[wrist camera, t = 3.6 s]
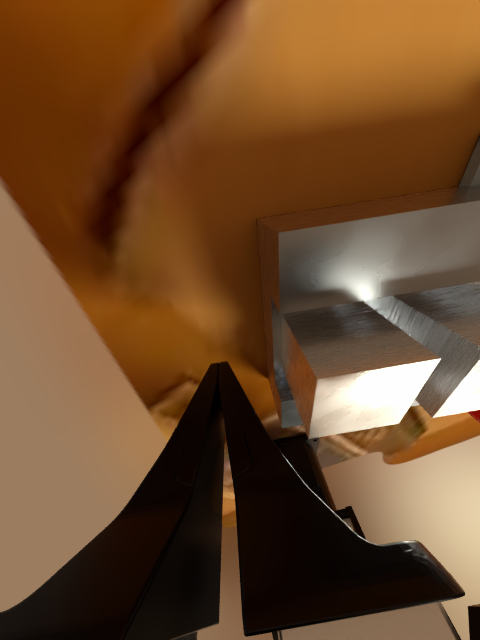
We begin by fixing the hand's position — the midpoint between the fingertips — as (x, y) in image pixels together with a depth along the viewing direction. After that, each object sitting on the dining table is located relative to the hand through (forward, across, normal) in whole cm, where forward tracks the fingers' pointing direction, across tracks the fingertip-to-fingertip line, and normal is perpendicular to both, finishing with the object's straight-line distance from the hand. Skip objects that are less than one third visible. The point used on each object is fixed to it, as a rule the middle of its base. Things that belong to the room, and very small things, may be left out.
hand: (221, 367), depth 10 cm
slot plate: (+4, -9, 0) cm, 10 cm away
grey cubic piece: (+1, -5, 0) cm, 5 cm away
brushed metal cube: (+1, -11, 0) cm, 11 cm away
